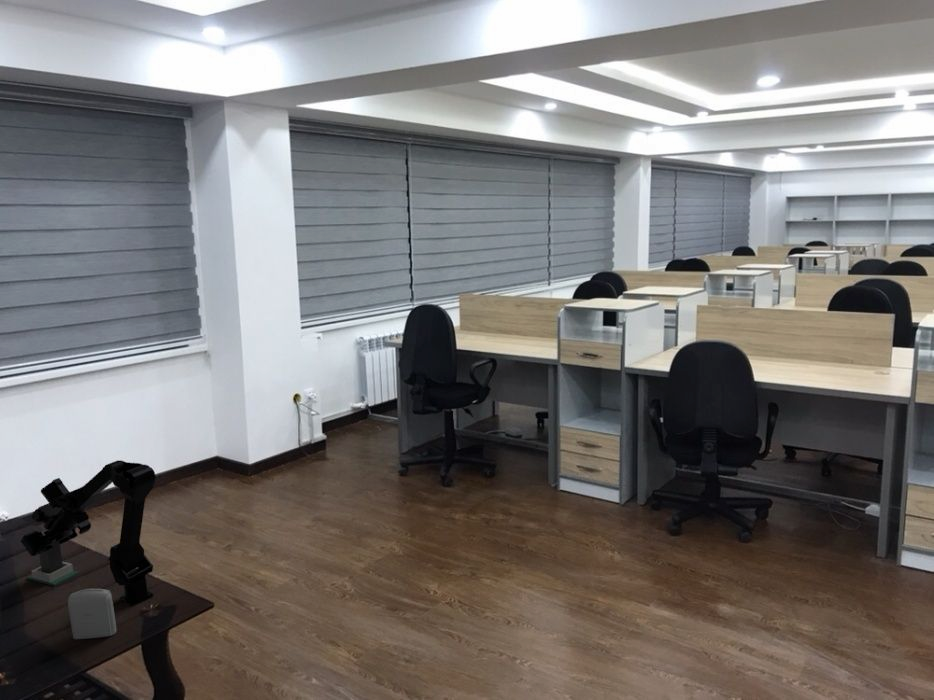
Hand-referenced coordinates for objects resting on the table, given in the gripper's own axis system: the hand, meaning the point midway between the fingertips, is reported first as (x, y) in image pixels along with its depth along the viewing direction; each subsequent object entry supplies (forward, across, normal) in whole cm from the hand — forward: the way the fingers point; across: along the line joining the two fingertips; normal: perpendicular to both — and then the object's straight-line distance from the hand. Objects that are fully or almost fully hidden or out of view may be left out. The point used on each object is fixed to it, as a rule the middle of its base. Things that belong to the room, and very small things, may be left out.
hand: (46, 548), depth 219 cm
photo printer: (-22, +17, +35) cm, 45 cm away
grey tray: (+5, 0, +7) cm, 9 cm away
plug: (+4, 0, +6) cm, 7 cm away
